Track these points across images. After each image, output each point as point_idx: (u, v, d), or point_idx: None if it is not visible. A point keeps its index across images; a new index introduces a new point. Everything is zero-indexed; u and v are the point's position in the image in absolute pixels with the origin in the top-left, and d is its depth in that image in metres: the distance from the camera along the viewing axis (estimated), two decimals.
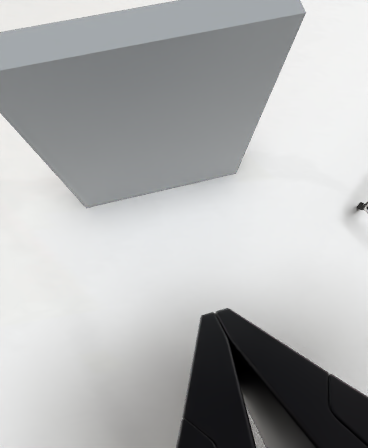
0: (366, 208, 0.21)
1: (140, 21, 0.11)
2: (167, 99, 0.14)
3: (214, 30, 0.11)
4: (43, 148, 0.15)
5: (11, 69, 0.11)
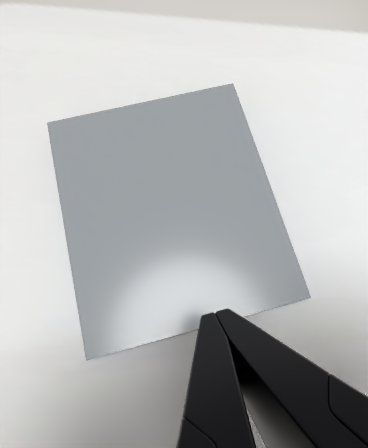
0: None
1: None
2: (165, 144, 0.19)
3: (181, 95, 0.20)
4: (67, 194, 0.18)
5: (70, 119, 0.19)
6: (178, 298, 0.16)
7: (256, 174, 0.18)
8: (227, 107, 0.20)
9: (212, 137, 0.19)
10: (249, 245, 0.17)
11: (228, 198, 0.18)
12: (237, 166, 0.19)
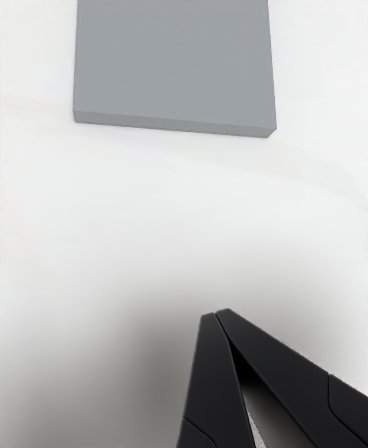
0: None
1: None
2: None
3: None
4: None
5: None
6: (167, 90, 0.18)
7: (261, 21, 0.20)
8: None
9: None
10: (239, 72, 0.19)
11: (232, 30, 0.20)
12: (247, 8, 0.20)
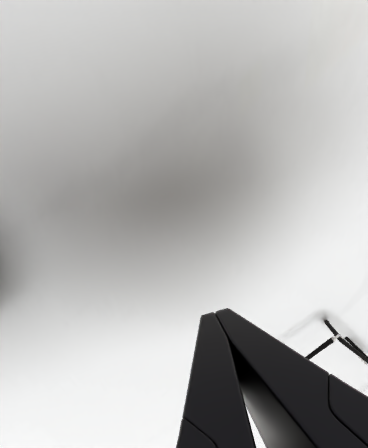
0: (339, 336, 0.26)
1: None
2: None
3: None
4: None
5: None
6: None
7: None
8: None
9: None
10: None
11: None
12: None
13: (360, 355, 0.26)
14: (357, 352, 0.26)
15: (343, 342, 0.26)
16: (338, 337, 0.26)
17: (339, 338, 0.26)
